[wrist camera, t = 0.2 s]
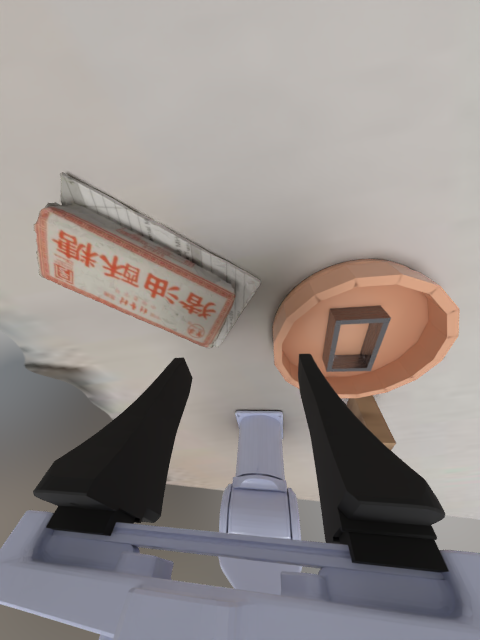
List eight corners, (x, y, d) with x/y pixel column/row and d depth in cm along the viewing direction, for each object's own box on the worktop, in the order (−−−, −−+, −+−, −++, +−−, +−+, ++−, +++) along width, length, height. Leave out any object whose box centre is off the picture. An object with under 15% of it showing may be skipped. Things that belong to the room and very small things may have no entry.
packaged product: (29, 294, 18) (11, 172, 12) (70, 272, 22) (71, 171, 16) (213, 369, 22) (263, 303, 16) (221, 339, 26) (262, 277, 20)
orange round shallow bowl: (400, 373, 26) (416, 398, 23) (274, 375, 28) (276, 398, 26) (464, 249, 17) (505, 266, 14) (269, 267, 19) (270, 284, 16)
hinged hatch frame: (363, 357, 24) (370, 370, 22) (322, 358, 24) (326, 371, 23) (380, 305, 19) (391, 317, 18) (329, 308, 20) (335, 320, 18)
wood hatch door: (361, 408, 32) (383, 460, 26) (345, 408, 32) (363, 459, 26) (369, 389, 29) (396, 443, 23) (351, 389, 29) (373, 442, 23)
